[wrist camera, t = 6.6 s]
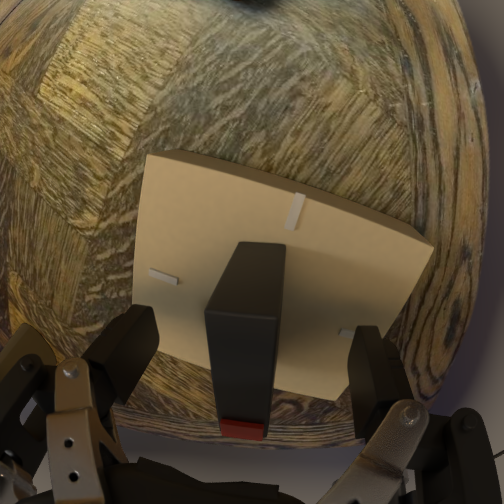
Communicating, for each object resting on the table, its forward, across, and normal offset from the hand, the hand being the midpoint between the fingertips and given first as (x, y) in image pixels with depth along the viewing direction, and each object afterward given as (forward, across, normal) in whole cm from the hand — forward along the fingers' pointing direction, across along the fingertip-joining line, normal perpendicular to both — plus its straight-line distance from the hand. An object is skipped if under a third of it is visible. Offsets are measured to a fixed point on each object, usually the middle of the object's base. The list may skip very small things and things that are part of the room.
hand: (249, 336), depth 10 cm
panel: (+5, 0, 0) cm, 5 cm away
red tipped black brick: (+2, 0, 0) cm, 2 cm away
